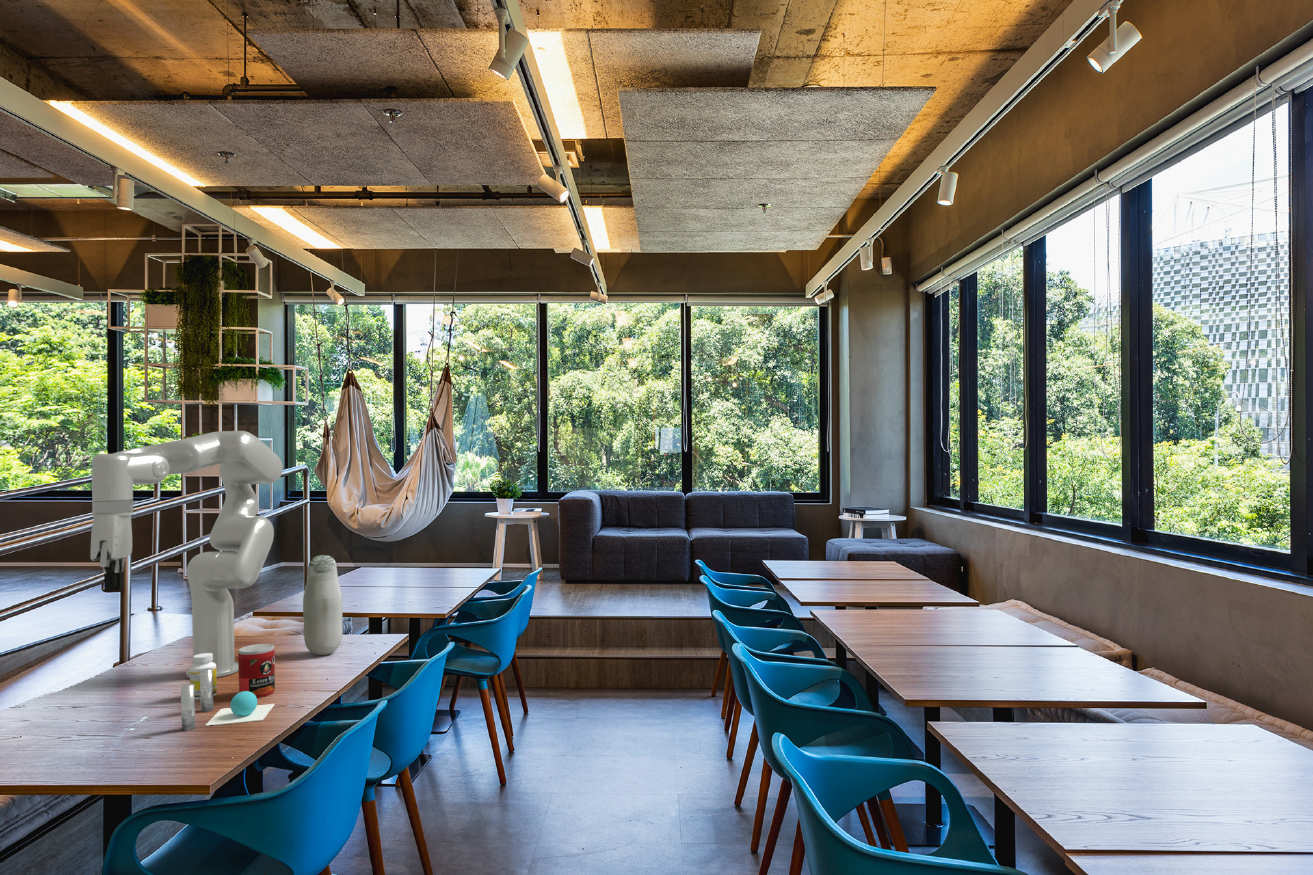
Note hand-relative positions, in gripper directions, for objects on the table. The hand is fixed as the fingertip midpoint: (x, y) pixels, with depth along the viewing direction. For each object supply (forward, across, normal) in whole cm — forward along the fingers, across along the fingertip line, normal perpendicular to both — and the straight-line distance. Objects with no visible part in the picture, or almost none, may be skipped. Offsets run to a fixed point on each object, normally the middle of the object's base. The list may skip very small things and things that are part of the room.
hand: (114, 590), depth 174 cm
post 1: (+27, +18, +20) cm, 38 cm away
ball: (+24, +12, +29) cm, 40 cm away
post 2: (+27, +6, +20) cm, 34 cm away
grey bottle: (+27, -39, +37) cm, 60 cm away
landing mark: (+27, +12, +28) cm, 41 cm away
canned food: (+27, -4, +28) cm, 39 cm away
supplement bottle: (+27, -6, +16) cm, 32 cm away
